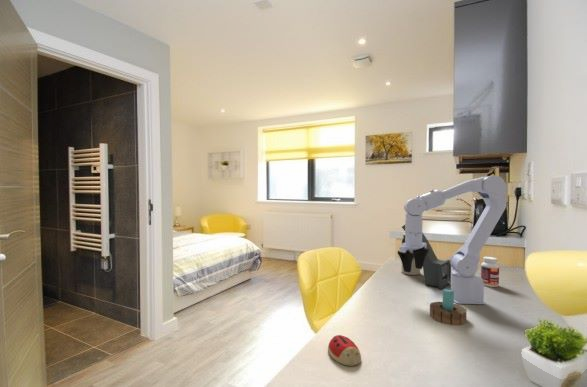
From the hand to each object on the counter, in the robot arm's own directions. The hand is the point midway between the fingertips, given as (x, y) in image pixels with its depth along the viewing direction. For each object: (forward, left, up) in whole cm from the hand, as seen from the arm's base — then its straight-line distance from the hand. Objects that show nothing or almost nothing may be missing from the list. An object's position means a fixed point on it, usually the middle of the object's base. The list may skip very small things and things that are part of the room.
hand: (413, 270), depth 109 cm
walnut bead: (-4, +18, -9) cm, 21 cm away
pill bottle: (-36, -15, -10) cm, 40 cm away
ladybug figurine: (+30, +40, -10) cm, 51 cm away
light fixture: (-11, -17, -10) cm, 22 cm away
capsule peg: (-4, +18, -9) cm, 21 cm away
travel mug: (-10, -31, -10) cm, 34 cm away
